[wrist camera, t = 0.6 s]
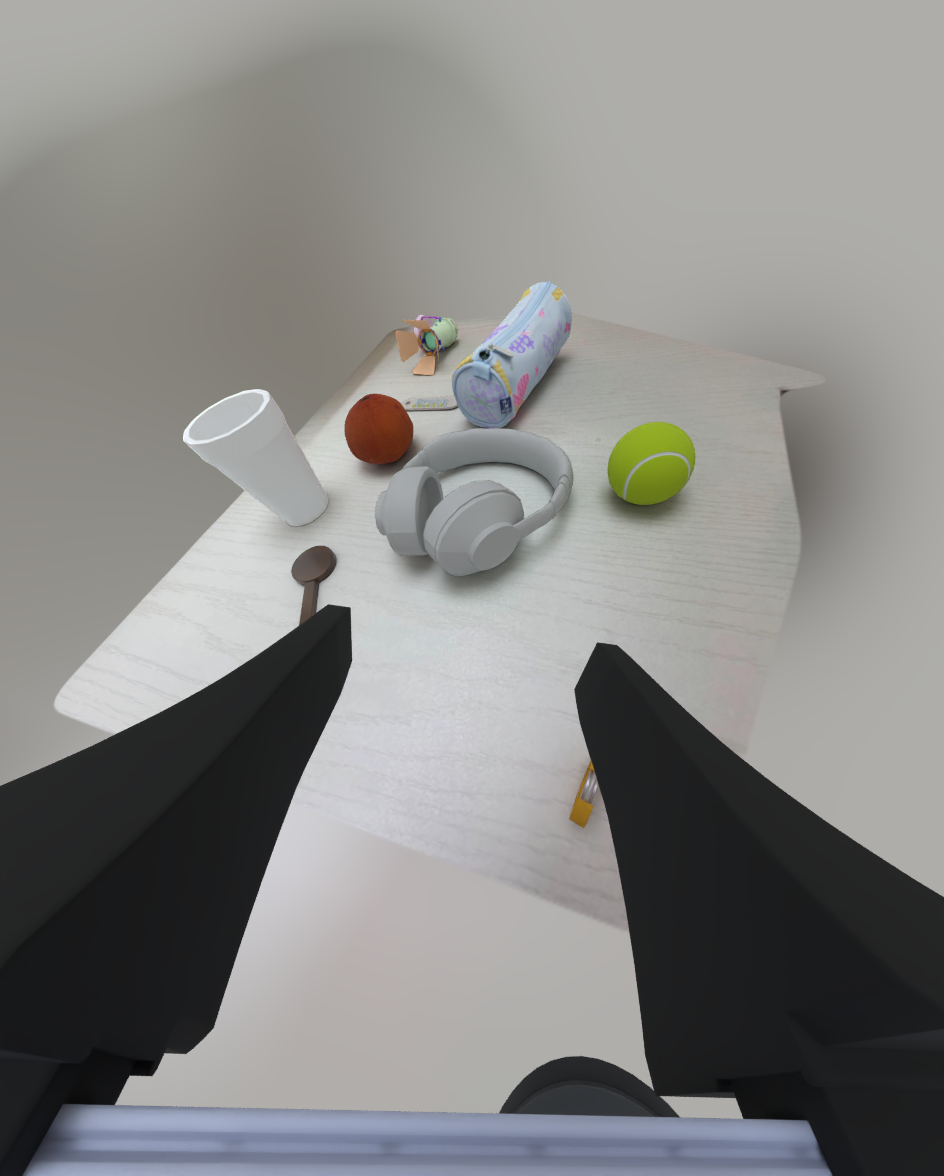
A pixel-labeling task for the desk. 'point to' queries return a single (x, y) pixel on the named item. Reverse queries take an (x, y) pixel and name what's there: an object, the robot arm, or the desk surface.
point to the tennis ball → (651, 463)
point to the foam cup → (259, 455)
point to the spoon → (312, 575)
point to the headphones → (469, 499)
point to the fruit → (378, 429)
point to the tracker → (584, 798)
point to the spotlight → (426, 341)
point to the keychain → (430, 403)
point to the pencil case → (513, 357)
